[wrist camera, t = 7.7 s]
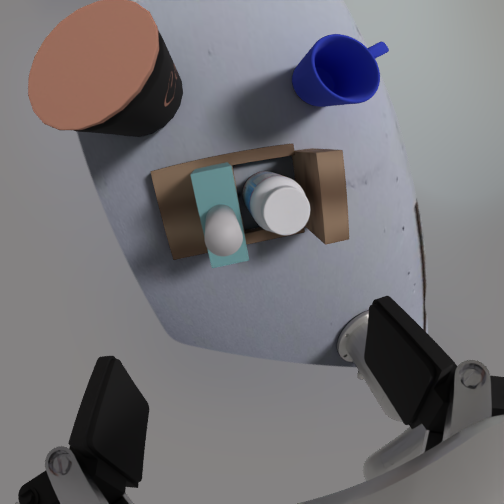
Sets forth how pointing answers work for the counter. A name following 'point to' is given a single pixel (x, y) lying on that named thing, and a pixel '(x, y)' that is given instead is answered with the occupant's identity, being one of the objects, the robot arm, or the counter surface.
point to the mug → (338, 72)
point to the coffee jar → (105, 72)
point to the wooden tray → (186, 211)
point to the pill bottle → (276, 202)
